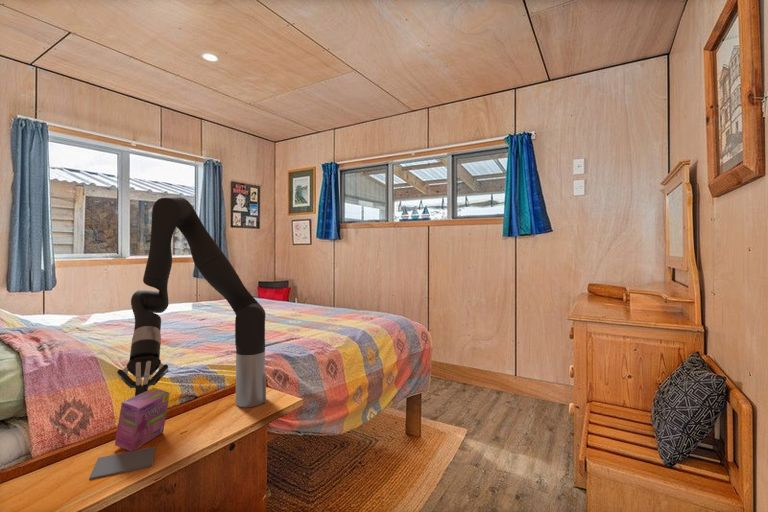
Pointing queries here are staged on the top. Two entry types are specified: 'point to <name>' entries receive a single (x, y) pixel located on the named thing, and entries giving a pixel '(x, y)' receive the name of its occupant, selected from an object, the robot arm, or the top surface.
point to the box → (142, 418)
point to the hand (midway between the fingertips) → (140, 399)
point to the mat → (123, 462)
